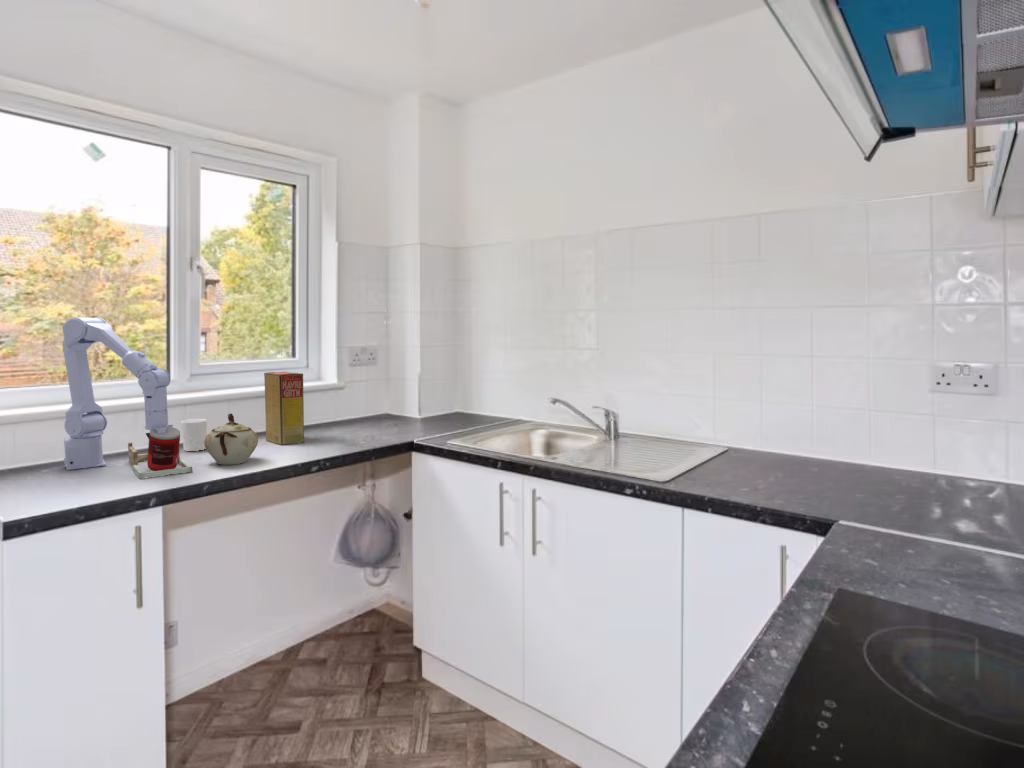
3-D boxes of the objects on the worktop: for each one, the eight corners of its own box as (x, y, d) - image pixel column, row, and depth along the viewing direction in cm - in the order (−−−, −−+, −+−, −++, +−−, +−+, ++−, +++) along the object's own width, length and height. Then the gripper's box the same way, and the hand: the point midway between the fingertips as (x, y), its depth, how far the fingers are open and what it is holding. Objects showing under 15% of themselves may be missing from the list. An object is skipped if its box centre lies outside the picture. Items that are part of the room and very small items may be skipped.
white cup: (188, 453, 200) (187, 423, 199) (177, 450, 205) (176, 420, 204) (212, 449, 206) (211, 420, 205) (201, 446, 211) (199, 418, 210)
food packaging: (306, 442, 220) (304, 373, 218) (280, 445, 213) (278, 374, 211) (289, 437, 229) (287, 371, 227) (264, 440, 223) (262, 372, 220)
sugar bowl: (217, 456, 196) (214, 409, 195) (265, 454, 199) (264, 409, 197) (195, 470, 177) (192, 419, 175) (249, 468, 179) (247, 418, 178)
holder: (134, 468, 178) (133, 448, 178) (129, 462, 187) (127, 442, 186) (180, 463, 186) (179, 443, 185) (173, 457, 194) (172, 438, 194)
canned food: (166, 458, 182) (169, 424, 179) (183, 468, 178) (186, 433, 175) (140, 464, 175) (143, 429, 172) (157, 475, 172) (160, 439, 169)
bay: (139, 479, 166) (139, 473, 166) (133, 470, 176) (132, 465, 176) (192, 472, 174) (192, 467, 174) (183, 464, 185) (183, 459, 184)
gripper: (176, 412, 175) (178, 458, 176) (167, 406, 186) (169, 450, 188) (148, 414, 171) (150, 462, 172) (140, 408, 182) (142, 453, 183)
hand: (158, 456), depth 179 cm, fingers closed
